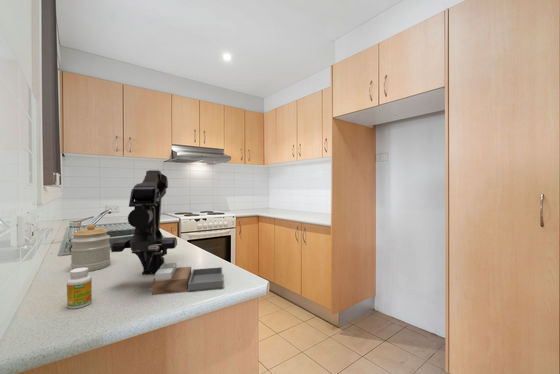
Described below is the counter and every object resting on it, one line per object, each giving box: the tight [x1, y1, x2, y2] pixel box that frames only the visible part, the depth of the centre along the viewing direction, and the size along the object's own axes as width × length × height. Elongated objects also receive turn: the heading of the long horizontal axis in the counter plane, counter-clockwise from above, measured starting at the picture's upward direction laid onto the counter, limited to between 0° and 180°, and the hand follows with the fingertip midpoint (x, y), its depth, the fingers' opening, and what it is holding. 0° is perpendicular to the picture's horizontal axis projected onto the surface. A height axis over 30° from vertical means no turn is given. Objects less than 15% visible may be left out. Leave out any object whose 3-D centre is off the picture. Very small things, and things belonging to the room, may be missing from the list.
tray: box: [187, 266, 224, 293], centre depth 87 cm, size 10×14×2 cm
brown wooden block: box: [151, 266, 192, 296], centre depth 84 cm, size 10×12×4 cm
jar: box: [70, 223, 112, 272], centre depth 104 cm, size 13×13×18 cm
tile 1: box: [160, 262, 178, 273], centre depth 87 cm, size 4×4×2 cm
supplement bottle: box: [66, 268, 93, 310], centre depth 71 cm, size 5×5×10 cm
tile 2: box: [154, 268, 174, 280], centre depth 81 cm, size 4×4×2 cm
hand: (146, 270), depth 85 cm, fingers closed
